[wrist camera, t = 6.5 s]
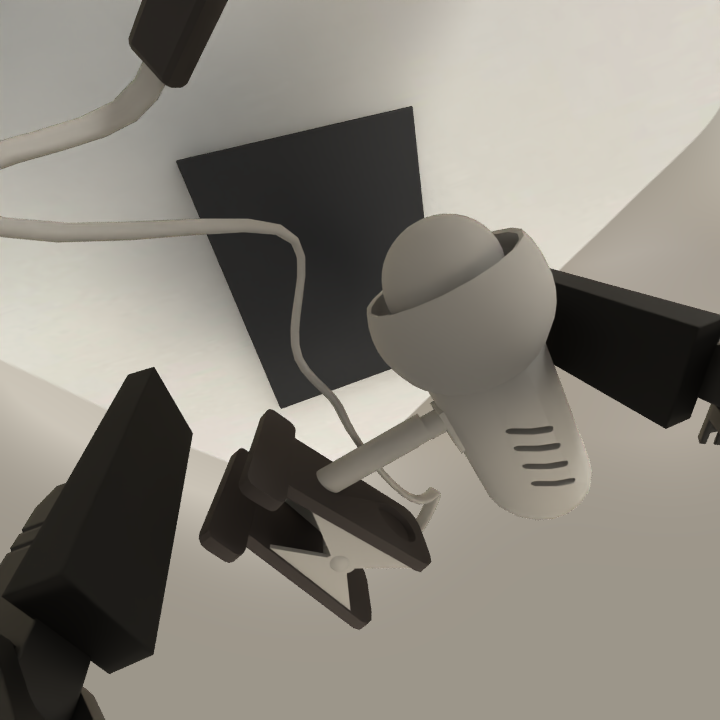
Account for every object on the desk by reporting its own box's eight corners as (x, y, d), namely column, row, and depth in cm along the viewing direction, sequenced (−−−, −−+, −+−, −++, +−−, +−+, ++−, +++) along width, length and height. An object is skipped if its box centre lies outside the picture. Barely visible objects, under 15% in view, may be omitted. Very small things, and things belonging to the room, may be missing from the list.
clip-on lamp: (4, 173, 10) (332, 557, 16) (-470, 66, 4) (341, 747, 10) (355, -70, 9) (564, 431, 15) (424, -666, 3) (725, 555, 9)
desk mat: (177, 161, 22) (175, 160, 21) (409, 107, 24) (412, 105, 24) (280, 405, 32) (280, 409, 32) (435, 349, 35) (438, 352, 34)
